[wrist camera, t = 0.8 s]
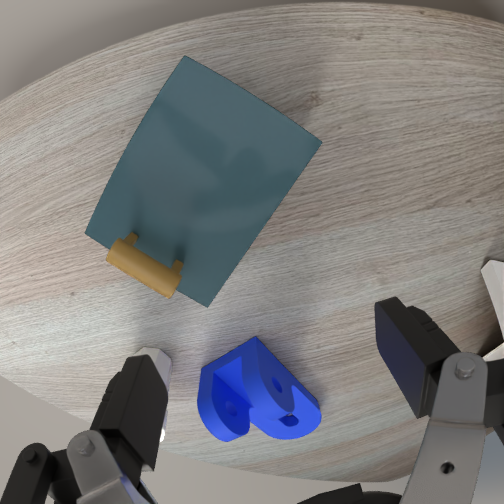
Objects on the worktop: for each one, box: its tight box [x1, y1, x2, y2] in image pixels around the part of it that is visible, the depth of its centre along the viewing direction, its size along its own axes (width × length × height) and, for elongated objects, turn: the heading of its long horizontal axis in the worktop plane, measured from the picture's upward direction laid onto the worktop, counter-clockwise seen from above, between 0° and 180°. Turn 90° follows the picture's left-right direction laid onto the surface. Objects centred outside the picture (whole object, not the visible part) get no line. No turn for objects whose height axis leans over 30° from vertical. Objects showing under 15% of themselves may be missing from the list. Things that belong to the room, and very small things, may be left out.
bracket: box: [197, 336, 321, 442], centre depth 36 cm, size 18×8×9 cm, turn 37°
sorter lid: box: [85, 56, 322, 308], centre depth 21 cm, size 15×12×5 cm
